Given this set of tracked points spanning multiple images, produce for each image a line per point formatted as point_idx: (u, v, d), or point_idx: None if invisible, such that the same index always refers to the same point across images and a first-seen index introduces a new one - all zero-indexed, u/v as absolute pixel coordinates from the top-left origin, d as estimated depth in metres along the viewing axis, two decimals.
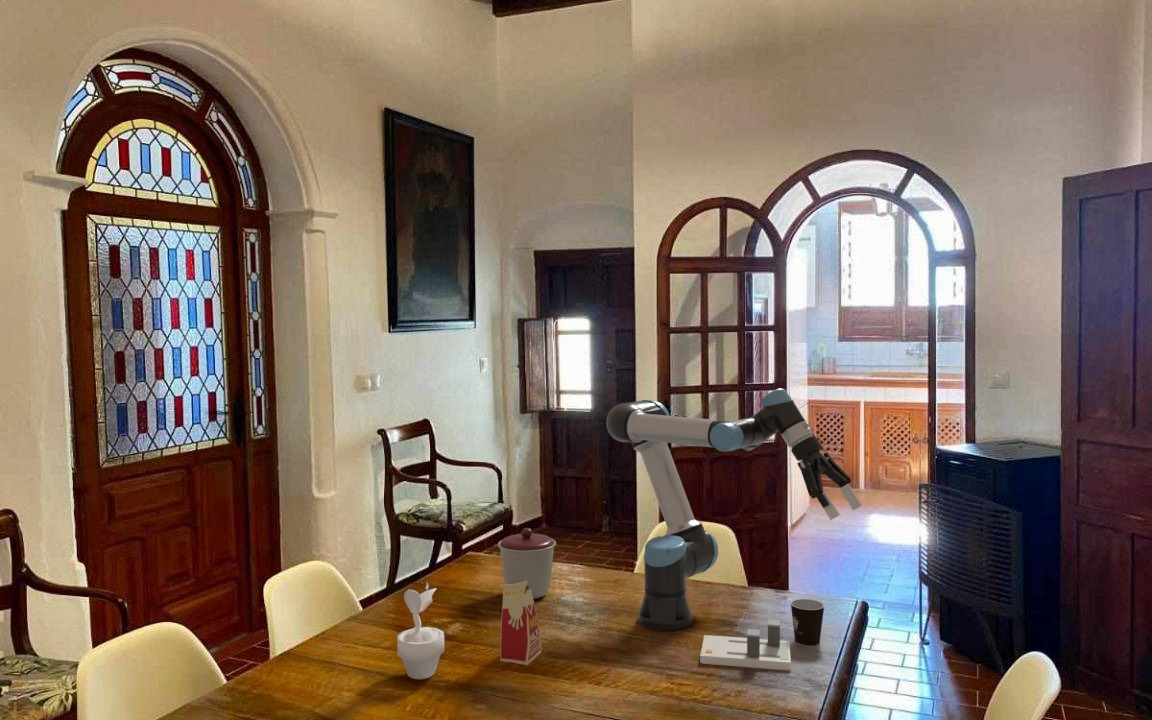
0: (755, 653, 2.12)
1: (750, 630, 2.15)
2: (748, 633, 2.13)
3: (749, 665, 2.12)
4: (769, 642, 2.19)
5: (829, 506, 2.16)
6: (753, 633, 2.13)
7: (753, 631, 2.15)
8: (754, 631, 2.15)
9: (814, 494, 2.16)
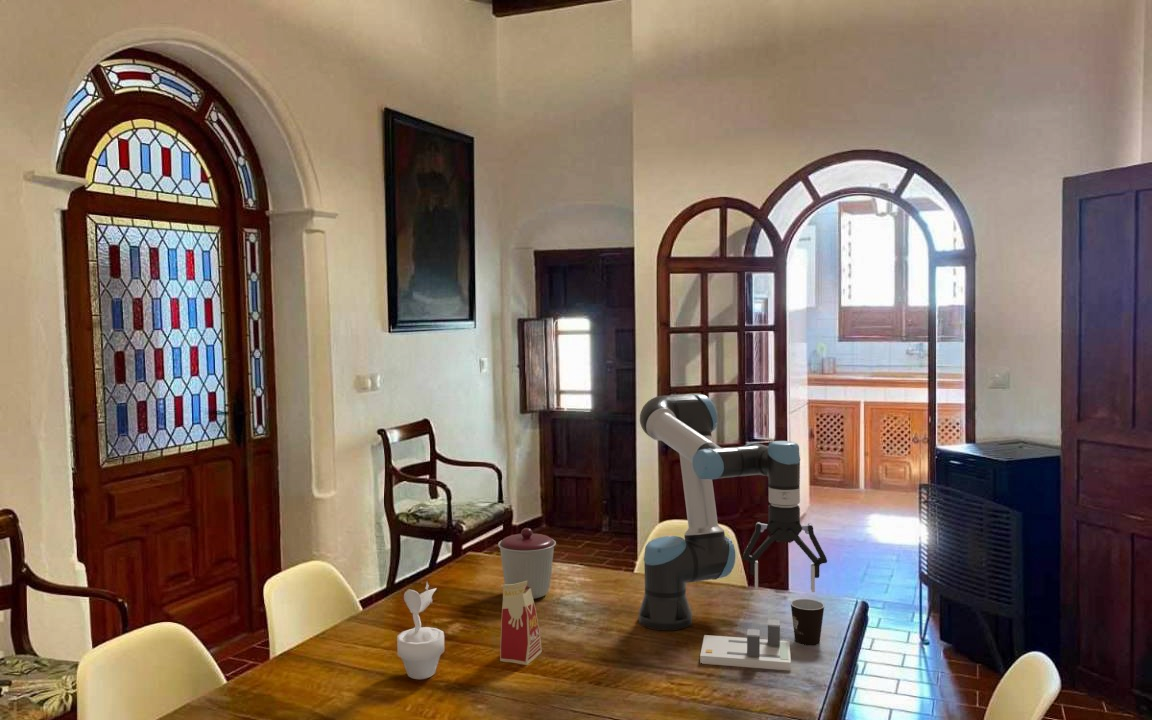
0: (755, 653, 2.12)
1: (750, 630, 2.15)
2: (748, 633, 2.13)
3: (749, 665, 2.12)
4: (769, 642, 2.19)
5: None
6: (753, 633, 2.13)
7: (753, 631, 2.15)
8: (754, 631, 2.15)
9: None
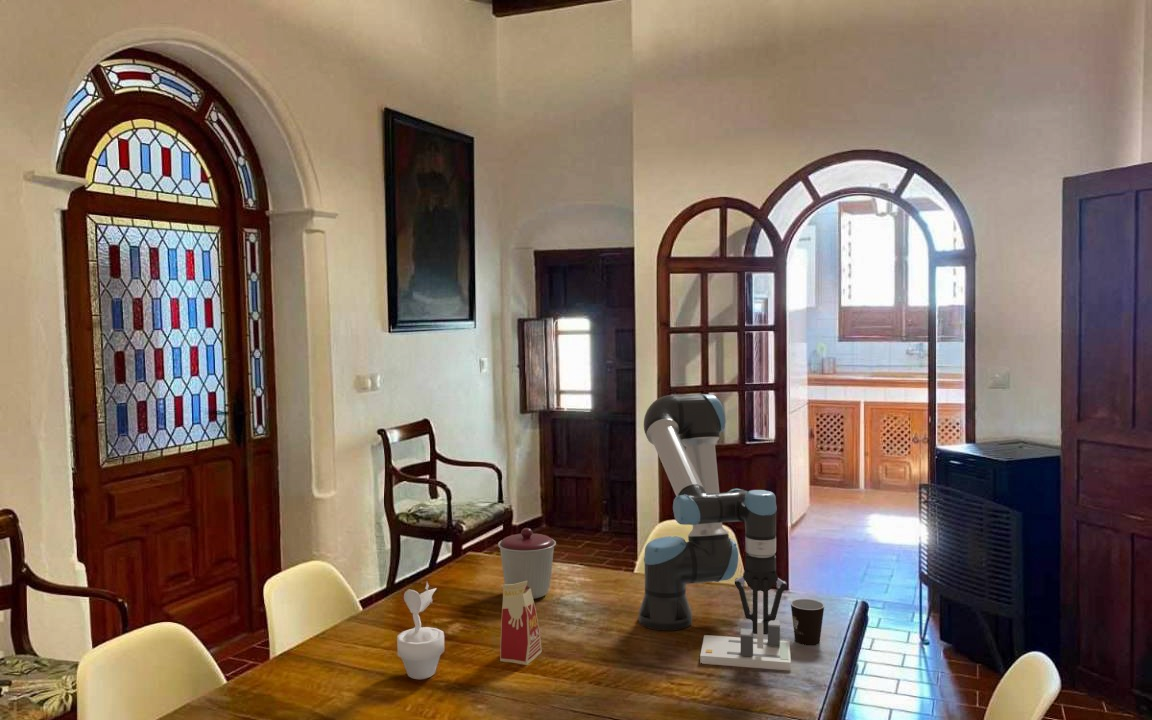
0: (748, 652, 2.13)
1: (744, 630, 2.16)
2: (741, 633, 2.14)
3: (749, 665, 2.12)
4: (769, 642, 2.19)
5: (757, 635, 2.14)
6: (747, 633, 2.14)
7: (747, 631, 2.15)
8: (748, 631, 2.15)
9: None
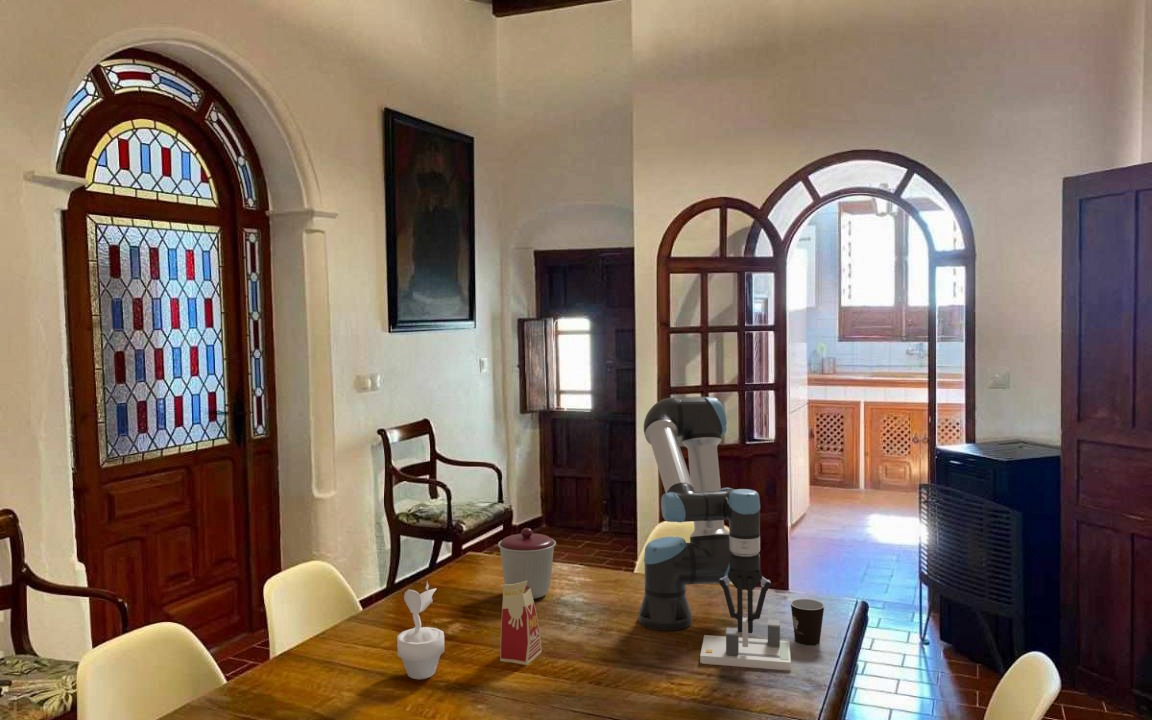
0: (734, 651, 2.13)
1: (729, 629, 2.16)
2: (727, 632, 2.14)
3: (749, 665, 2.12)
4: (769, 642, 2.19)
5: (742, 633, 2.14)
6: (732, 632, 2.14)
7: (732, 630, 2.16)
8: (733, 630, 2.16)
9: None
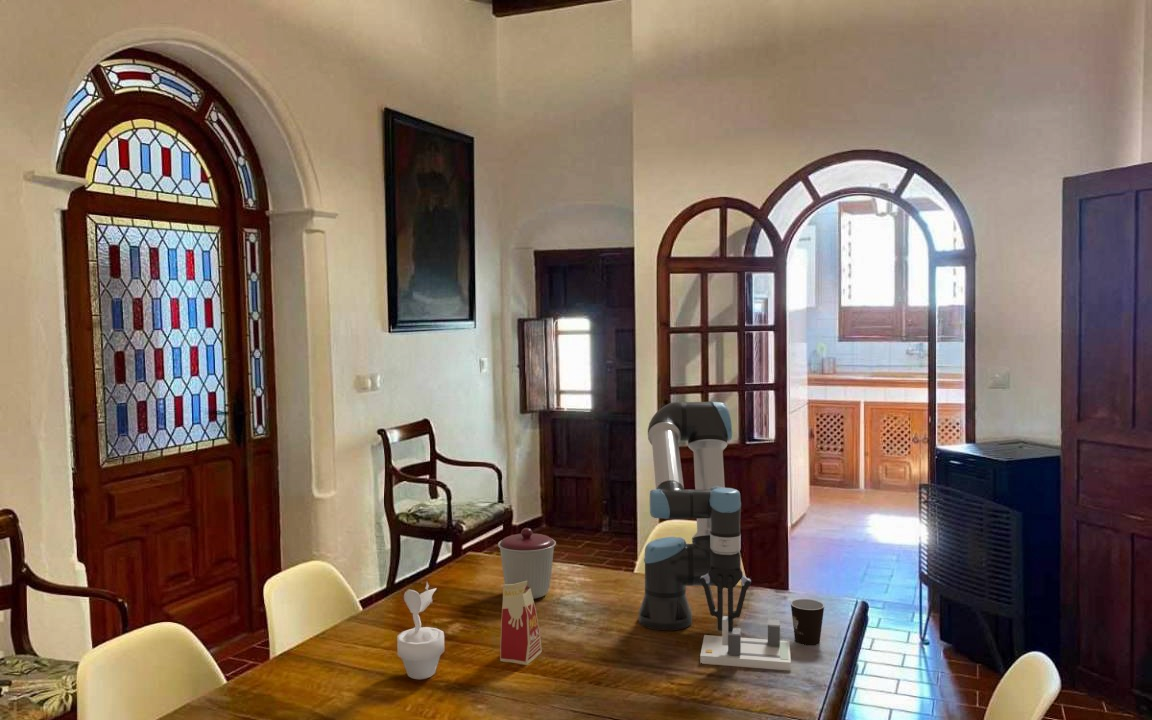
0: (736, 652, 2.13)
1: None
2: (729, 632, 2.14)
3: (749, 665, 2.12)
4: (769, 642, 2.19)
5: None
6: (734, 632, 2.14)
7: (734, 630, 2.16)
8: (735, 630, 2.16)
9: None
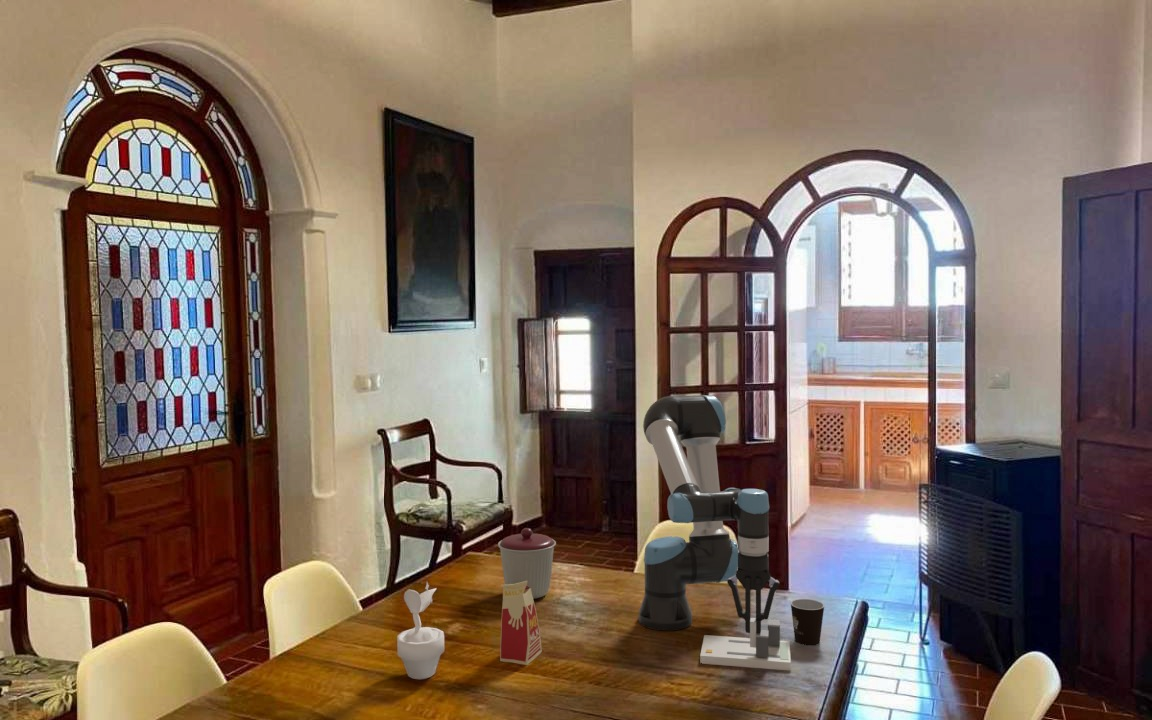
0: (764, 654, 2.12)
1: None
2: (757, 634, 2.13)
3: (749, 665, 2.12)
4: (769, 642, 2.19)
5: None
6: (762, 634, 2.13)
7: (762, 632, 2.14)
8: (763, 632, 2.14)
9: None
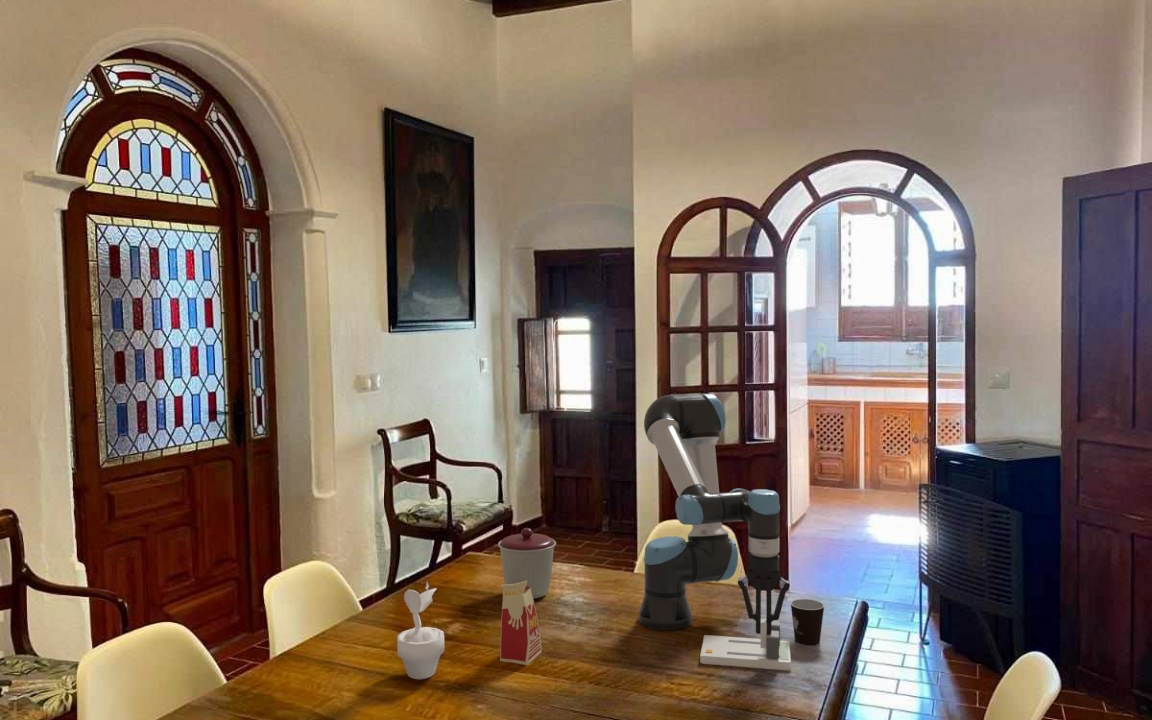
0: (774, 654, 2.11)
1: None
2: (767, 634, 2.12)
3: (749, 665, 2.12)
4: None
5: None
6: (772, 634, 2.12)
7: (772, 632, 2.14)
8: (773, 632, 2.13)
9: None
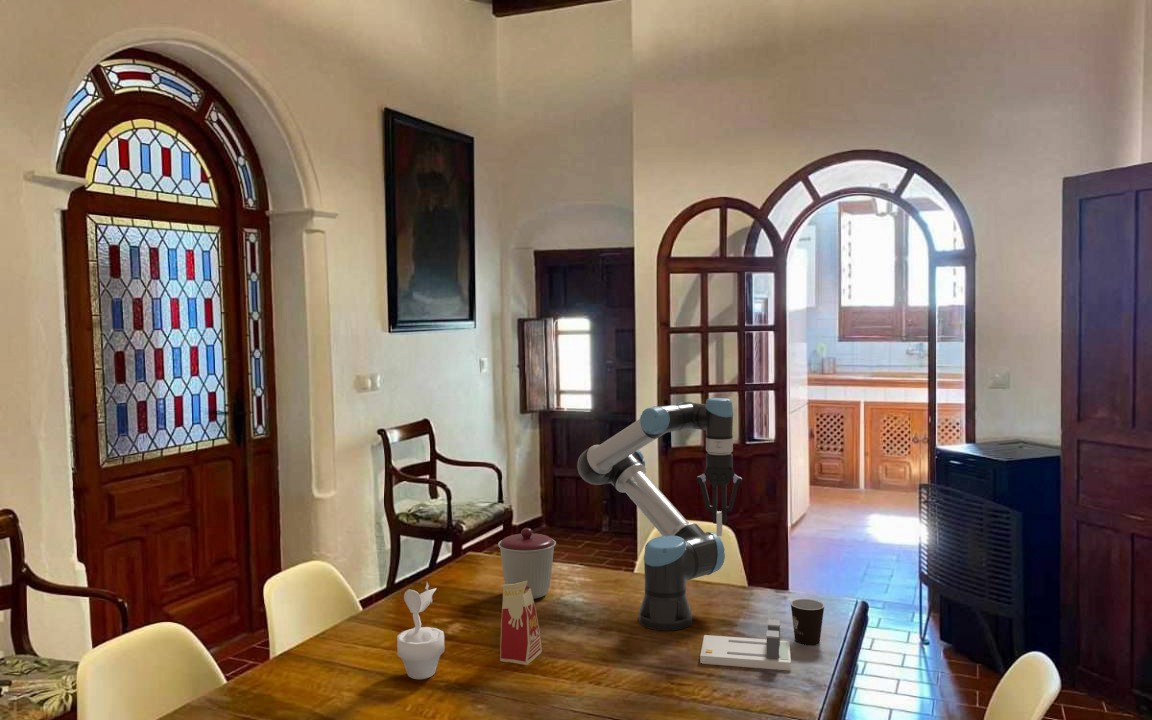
0: (775, 654, 2.11)
1: (769, 631, 2.14)
2: (767, 634, 2.12)
3: (749, 665, 2.12)
4: None
5: None
6: (773, 634, 2.12)
7: (772, 632, 2.14)
8: (773, 632, 2.13)
9: None
